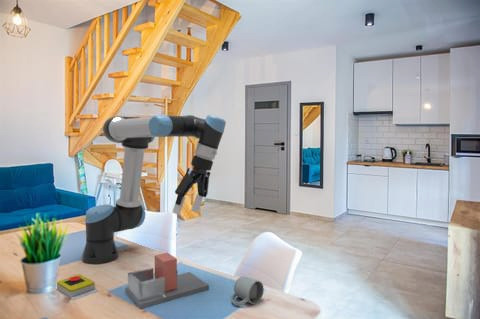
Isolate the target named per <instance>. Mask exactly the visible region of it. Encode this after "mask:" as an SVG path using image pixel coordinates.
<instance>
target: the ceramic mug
mask: <svg viewBox="0 0 480 319" xmlns="http://www.w3.org/2000/svg"><path fill="white" fill-rule="evenodd" d="M233 290H234V293H233V294H232V295H231V298H230V299H231V300H230V301H231V303H232V305H233V306H235V307H242V306H244V305H245V304H247V303H250V304H251V305H256V304H257V303H259V302H260V301H261V299H263V295H264V284H263V282H262V281H260V280H258V279H255V278H251V277H248V276H240V277H238V278H237V280H236V281H235V283H234V287H233ZM236 297H238V298H239V299H242V300H241V301H235V299H236Z"/></svg>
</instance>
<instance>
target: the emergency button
mask: <svg viewBox="0 0 480 319" xmlns="http://www.w3.org/2000/svg"><path fill="white" fill-rule="evenodd" d="M95 283H96V282H95V281H94V280H92V279H90V278H89V277H86V276H84V275H82V274H77V275H73V276H71V277H66V278H64V279H61V280H58V281H57V282H56V287H57V289H58V290H59V292H60V293H61V294H63V295H65V296H66V297H68V298H70V299H71V300H78V299H81V298H84V297H86V296H89V295H92V294H94V293H95V294H96V293H98V292H99V290H98V289H97V288H96V286H95V285H96V284H95ZM57 289H56V290H57ZM58 290H57V291H58Z"/></svg>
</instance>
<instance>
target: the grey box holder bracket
mask: <svg viewBox="0 0 480 319" xmlns="http://www.w3.org/2000/svg"><path fill="white" fill-rule="evenodd" d="M127 287H128V290H129V291H130V292H131V293H132V294H133V295H134V296H135V297H136V299H137V300H138V301H139V302H140V301H144V300H148V299H151V298H155V297H159V296H162V295H165V278H164V277H160V278H156V279H155V277H154V268H153V267H149V268H148V267H147V268H144V269H140V270H135V271H130V272H128V273H127Z"/></svg>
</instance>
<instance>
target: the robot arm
mask: <svg viewBox="0 0 480 319" xmlns="http://www.w3.org/2000/svg"><path fill="white" fill-rule="evenodd" d="M225 128H226V120H225V119H223V118H220V117H218V116H215V115H212V114H207V115H206V117H205V118H200V117H197V116H195V115H191V114H190V115H189V114H184V115H166V114H155V115H153V116H143V117H141V116H122V115H120V116H119V115H117V116H112V117H109V118H108V119H106V120H105V121H104V124H103V126H102V132H103V135H104V136H105V138H106V139H107V140H109V142H113V143H116V144H121V146H122V148H123V149H124V154H123V163H122V173H121V184H120V190H119V192H120V193H119V198H118V199H116V200H115V206H113V205H112V204H99V205H95V206H93V207H90V208H88V209H87V210H86V212H85V220H84V222H85V238H86V239H85V241H86V242H85V244H84V249H83V251H82V254H81V260H82V262H83V263H86V264H88V265H89V264H91V265H98V264H99V265H100V264H106V263H110V262H112V261H114V260H117V259H118V258H119V250H118V248H117V245H116V242H115V237H114V236H115V233H118V232H124V231H127V230H133V229H136V228H139V227H140V226H142V225H143V224H144V222H145V219H146V211H145V207H144V205H143V204H142V201H141V200H140V192H141V190H140V189H141V184H142V183H141V182H142V173H143V166H144V165H143V164H144V155H145V151H147V149H149V144H151V143H152V142H154V140H155V138H168V137H169V138H170V137H172V138H173V137H175V138H176V137H179V138H181V137H191V138H192V137H193V138H196V139H198V142H197V144H196V148H195V149H194V150H195V151H194V154H195V155H193V157H192V160H191V162H190V163H191V164H190V165H191V166H193V167H192V168H190V167H188V168H187V170H186V172H185V174H184V176H183V177H182V180H180V182H179V184H178V186H177V187H176V189H175V191H174V193H175V195H177V197H176V199H175V203H174V205H173V208H172V214H175V215H178V216H180V215H181V212H182V209H183V206H184V203H185V200H186V195H187V193H189V191H190V190H191V188H192V187H193V186H194V185H197V194H195V198H194V200H193V201H194V202H193V204H192V208H191V209H190V210H191V212H194V213H196V214H198V213H199V212H200V208H201V205H202V202H203V199H204V198H207V196H208V193H209V181H210V175H211V172H210V171H211V170H212V167H213V164H214V161H213V160H215V158H216V155H217V154H218V148H219V146H220V143H221V139H222V137H223V134H224V132H225Z"/></svg>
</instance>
